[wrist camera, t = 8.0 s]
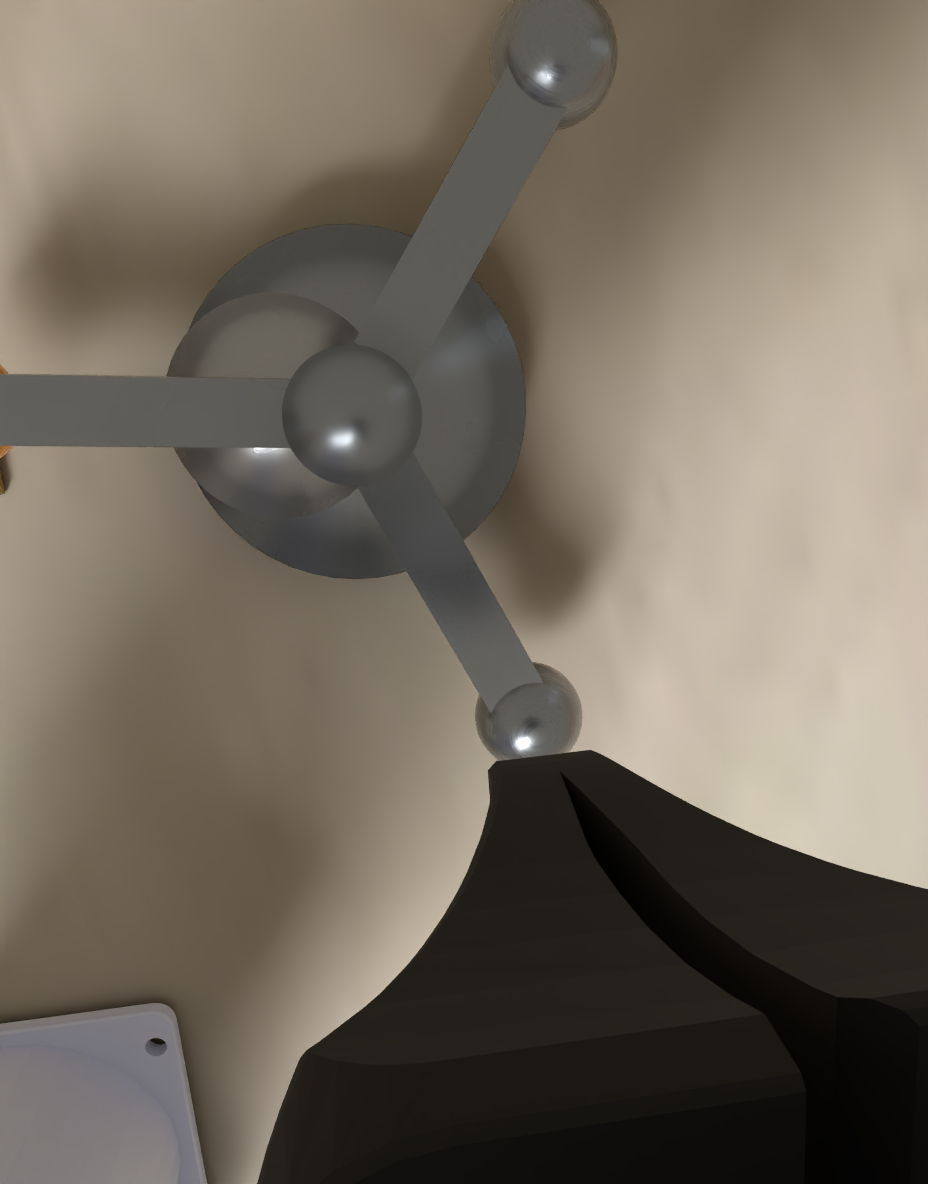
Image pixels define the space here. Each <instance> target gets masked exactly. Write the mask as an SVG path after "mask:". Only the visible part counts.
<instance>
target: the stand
mask: <svg viewBox="0 0 928 1184" xmlns="http://www.w3.org/2000/svg"><path fill="white" fill-rule="evenodd" d="M4 493H5V490H4V485H3V480H2V475H1V470H0V495H1V494H4Z"/></svg>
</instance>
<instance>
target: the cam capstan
mask: <svg viewBox="0 0 928 1184" xmlns="http://www.w3.org/2000/svg"><path fill="white" fill-rule="evenodd" d="M489 62H490V73H491V78H492V82H493V86H494V91H493V93H492V95H491V96H490V98H489V100H488V102H487V104H486V105H485V107H484V109H483V111H482V113H481V114H480V116H479V118H478V120H477V122H476V123H475V125H474V127H473V129H472V131H471V132H470V134H469V136H468V138H467V140H466V141H465V143H464V145H463V147H462V149H461V150H460V152H459V154H458V156H457V158H456V159H455V161H454V163H453V165H452V167H451V168H450V170H449V172H448V174H447V176H446V177H445V179H444V181H443V183H442V185H441V186H440V188H439V190H438V192H437V194H436V195H435V197H434V199H433V201H432V203H431V204H430V206H429V208H428V210H427V212H426V213H425V215H424V217H423V219H422V221H421V222H420V224H419V226H418V228H417V230H416V231H415V233H414V235H413V237H411V236H408V235H406V234H403V233H400V232H397V231H393V230H389V229H385V228H381V227H377V226H368V225H358V224H333V225H324V226H318V227H312V228H306V229H303V230H299V231H296V232H293V233H290V234H287V235H284V236H281V237H279V238H277V239H275V240H273V241H271V242H269V243H267V244H265V245H263V246H261V247H259V248H258V249H256V250H255V251H253V252H252V253H251V254H249V255H248V256H246V257H245V258H243V259H242V260H240V261H239V262H238V263H237V264H236V265H235V266H234V267H233V268H232V269H230V270H229V271H228V272H227V273H226V274H225V275H224V276H223V277H222V278H221V279H220V281H219V282H218V283H217V284H216V285H215V287H214V288H213V289H212V290H211V291H210V293H209V294H208V295H207V297H206V298H205V300H204V302H203V303H202V305H201V307H200V308H199V310H198V311H197V313H196V315H195V317H194V319H193V321H192V324H191V326H190V328H189V331H188V333H187V334H186V335H185V336H184V338H183V339H182V341H181V343H180V344H179V346H178V347H177V349H176V351H175V353H174V356H173V358H172V360H171V363H170V366H169V369H168V373H167V376H110V375H51V374H9V373H8V372H7V371H6V370H5V369H4V368H3V367H2V366H1V365H0V458H1V457H3V456H4V455H5V454H6V453H7V452H8V451H9V450H10V449H11V448H12V446H95V447H174V448H175V451H176V453H177V454H178V456H179V458H180V460H181V462H182V463H183V465H184V466H185V468H186V469H187V470H188V472H189V473H190V474H191V476H192V477H193V478H194V479H195V480H196V481H197V483H198V485H199V487H200V488H201V490H202V492H203V494H204V496H205V497H206V498H207V500H208V501H209V502H210V504H211V505H212V506H213V508H214V509H215V511H216V512H217V513H218V515H219V516H220V517H221V518H222V519H223V520H224V521H225V522H226V523H227V524H228V525H229V526H230V527H231V528H232V529H233V530H234V531H235V532H236V533H237V534H238V535H240V536H241V537H242V538H243V539H245V540H246V541H247V542H248V543H249V544H251V545H252V546H253V547H255V548H257V549H258V550H260V551H261V552H263V553H265V554H266V555H268V556H269V557H271V558H273V559H275V560H278V561H280V562H282V563H284V564H286V565H288V566H290V567H293V568H296V569H299V570H303V571H306V572H309V573H312V574H317V575H322V576H328V577H333V578H347V579H364V578H378V577H383V576H388V575H393V574H398V573H402V572H405V571H407V572H408V574H409V576H410V577H411V579H412V581H413V582H414V584H415V586H416V588H417V589H418V591H419V593H420V594H421V596H422V598H423V599H424V601H425V603H426V604H427V606H428V608H429V609H430V611H431V613H432V615H433V616H434V618H435V620H436V621H437V623H438V625H439V626H440V628H441V630H442V631H443V633H444V635H445V636H446V638H447V640H448V642H449V643H450V645H451V647H452V648H453V650H454V652H455V653H456V655H457V657H458V658H459V660H460V662H461V663H462V665H463V667H464V669H465V670H466V672H467V674H468V675H469V677H470V679H471V680H472V682H473V684H474V685H475V687H476V689H477V691H478V692H479V697H478V700H477V704H476V709H475V721H476V727H477V731H478V734H479V737H480V739H481V741H482V743H483V745H484V746H485V747H486V749H487V750H488V751H489V752H490V753H491V754H492V755H493V756H494V757H495V758H496V759H497V760H499V761H501V760H510V759H518V758H527V757H535V756H544V755H552V754H561V753H568V752H569V751H570V750H571V749H572V747H573V746H574V745H575V743H576V741H577V739H578V736H579V734H580V730H581V726H582V707H581V702H580V699H579V696H578V694H577V692H576V690H575V688H574V687H573V685H572V684H571V683H570V681H569V680H568V679H567V678H566V677H565V676H564V675H563V674H561V673H560V672H559V671H557V670H556V669H554V668H552V667H550V666H547V665H544V664H541V663H536V662H532V661H531V660H530V658H529V656H528V654H527V653H526V651H525V649H524V647H523V646H522V644H521V642H520V640H519V638H518V637H517V635H516V633H515V631H514V630H513V628H512V626H511V624H510V623H509V621H508V619H507V617H506V616H505V614H504V612H503V610H502V608H501V607H500V605H499V603H498V601H497V600H496V598H495V596H494V594H493V593H492V591H491V589H490V587H489V586H488V584H487V582H486V580H485V578H484V577H483V575H482V573H481V571H480V570H479V568H478V566H477V564H476V563H475V561H474V559H473V557H472V555H471V554H470V552H469V550H468V548H467V547H466V545H465V543H464V541H463V540H464V539H465V538H466V537H467V536H469V535H470V534H471V533H472V532H473V531H474V530H475V529H476V528H477V527H478V526H479V525H480V524H481V523H482V521H483V520H484V519H485V518H486V517H487V516H488V515H489V513H490V512H491V510H492V509H493V508H494V506H495V505H496V503H497V502H498V500H499V499H500V497H501V496H502V494H503V492H504V490H505V488H506V486H507V484H508V482H509V480H510V478H511V476H512V473H513V471H514V468H515V465H516V462H517V460H518V457H519V453H520V449H521V444H522V440H523V435H524V426H525V416H526V399H525V385H524V378H523V372H522V366H521V363H520V359H519V356H518V352H517V349H516V345H515V343H514V340H513V338H512V336H511V334H510V331H509V329H508V327H507V324H506V322H505V321H504V319H503V317H502V316H501V314H500V312H499V311H498V309H497V307H496V305H495V304H494V302H493V301H492V300H491V298H490V297H489V296H488V295H487V293H486V292H485V291H484V289H483V288H482V287H481V286H480V284H479V283H478V282H477V281H476V280H475V279H474V278H473V277H472V274H473V273H474V271H475V269H476V267H477V266H478V264H479V262H480V260H481V259H482V257H483V255H484V253H485V252H486V250H487V248H488V246H489V245H490V243H491V241H492V239H493V238H494V236H495V234H496V232H497V231H498V229H499V227H500V225H501V224H502V222H503V220H504V218H505V217H506V215H507V213H508V211H509V210H510V208H511V206H512V204H513V203H514V201H515V199H516V197H517V196H518V194H519V192H520V190H521V189H522V187H523V185H524V183H525V182H526V180H527V178H528V176H529V175H530V173H531V171H532V169H533V168H534V166H535V164H536V162H537V161H538V159H539V157H540V155H541V154H542V152H543V150H544V148H545V147H546V145H547V143H548V141H549V140H550V138H551V136H552V134H553V133H554V131H555V130H560V129H565V128H568V127H571V126H574V125H576V124H578V123H580V122H581V121H582V120H584V119H585V118H587V117H588V116H589V115H590V114H591V113H593V112H594V111H595V110H596V108H597V107H598V106H599V105H600V104H601V102H602V101H603V99H604V98H605V96H606V94H607V93H608V91H609V89H610V87H611V84H612V81H613V78H614V74H615V70H616V65H617V41H616V35H615V31H614V27H613V25H612V22H611V19H610V17H609V15H608V13H607V12H606V10H605V9H604V7H603V6H602V5H601V3H600V2H599V1H598V0H514V1H513V2H512V3H511V4H510V5H509V6H508V7H507V9H506V10H505V12H504V13H503V15H502V16H501V18H500V20H499V22H498V24H497V26H496V28H495V31H494V34H493V37H492V42H491V47H490V57H489Z"/></svg>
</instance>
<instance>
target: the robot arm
mask: <svg viewBox="0 0 928 1184" xmlns="http://www.w3.org/2000/svg"><path fill="white" fill-rule="evenodd" d="M488 778H489V792H490V805H489V809H488V813H487V817H486V821H485V824H484V828H483V832H482V835H481V838H480V841H479V844H478V846H477V849H476V851H475V854H474V856H473V859H472V861H471V864H470V866H469V869H468V871H467V874H466V876H465V878H464V880H463V882H462V884H461V886H460V888H459V890H458V892H457V894H456V895H455V897H454V899H453V901H452V902H451V904H450V906H449V908H448V909H447V911H446V913H445V914H444V916H443V918H442V919H441V920H440V922H439V923H438V925H437V926H436V928H435V929H434V931H433V932H432V933H431V935H430V936H429V938H428V939H427V941H426V942H425V943H424V945H423V946H422V948H421V949H420V950H419V951H418V953H417V954H416V955H415V956H414V958H413V959H412V960H411V961H410V963H409V964H408V965H407V966H406V967H405V968H404V969H403V970H402V971H401V972H400V973H399V974H398V976H397V977H396V978H395V979H394V980H393V981H392V982H391V983H390V984H389V985H388V986H387V987H386V988H385V989H384V990H383V991H382V992H381V993H380V994H379V995H378V996H377V997H376V998H375V999H373V1000H372V1001H371V1002H370V1003H369V1004H368V1005H367V1006H365V1007H364V1008H363V1009H362V1010H360V1011H359V1012H358V1013H356V1014H355V1015H354V1016H352V1017H351V1018H350V1019H348V1020H347V1021H346V1022H345V1023H343V1024H342V1025H341V1026H339V1027H338V1028H337V1029H335V1030H334V1031H333V1032H331V1033H330V1034H329V1035H327V1036H326V1037H325V1038H324V1039H322V1040H321V1041H319V1042H318V1043H317V1044H315V1045H314V1046H312V1047H311V1048H309V1049H308V1050H306V1052H305V1053H304V1054H303V1055H302V1056H301V1058H300V1060H299V1062H298V1064H297V1067H296V1069H295V1072H294V1074H293V1077H292V1079H291V1082H290V1085H289V1087H288V1090H287V1092H286V1095H285V1098H284V1100H283V1103H282V1106H281V1108H280V1111H279V1114H278V1117H277V1120H276V1123H275V1126H274V1129H273V1132H272V1135H271V1138H270V1141H269V1144H268V1147H267V1150H266V1153H265V1157H264V1161H263V1164H262V1168H261V1172H260V1176H259V1179H258V1183H257V1184H928V889H924V888H920V887H915V886H912V885H908V884H904V883H900V882H897V881H893V880H889V879H885V878H881V877H878V876H874V875H870V874H866V873H862V872H859V871H855V870H852V869H849V868H846V867H842V866H839V865H836V864H833V863H829V862H826V861H824V860H821V859H818V858H815V857H812V856H810V855H807V854H804V853H801V852H799V851H796V850H793V849H790V848H787V847H785V846H782V845H779V844H776V843H774V842H771V841H769V840H767V839H764V838H762V837H759V836H757V835H754V834H752V833H750V832H748V831H746V830H743V829H741V828H739V827H737V826H735V825H733V824H730V823H728V822H726V821H724V820H722V819H720V818H717V817H715V816H713V815H711V814H709V813H707V812H705V811H703V810H701V809H699V808H697V807H695V806H693V805H691V804H689V803H687V802H686V801H684V800H682V799H680V798H678V797H676V796H674V795H673V794H671V793H669V792H667V791H665V790H663V789H662V788H660V787H658V786H656V785H654V784H653V783H651V782H649V781H647V780H646V779H644V778H642V777H640V776H639V775H637V774H635V773H633V772H632V771H630V770H628V769H626V768H625V767H623V766H621V765H619V764H618V763H616V762H614V761H612V760H611V759H609V758H607V757H605V756H603V755H601V754H599V753H597V752H594V751H592V750H586V751H578V752H569V753H561V754H552V755H544V756H535V757H527V758H518V759H510V760H501V761H496V762H495V763H494V764H493V765H492V767H491V768H490V769H489V770H488ZM153 1038H160V1039H162V1040H164V1041H165V1042H166V1043H164V1044H155V1043H153V1042H151V1040H150V1039H153ZM0 1184H207V1180H206V1174H205V1169H204V1164H203V1158H202V1153H201V1147H200V1142H199V1137H198V1131H197V1126H196V1120H195V1115H194V1110H193V1104H192V1099H191V1093H190V1088H189V1083H188V1077H187V1072H186V1066H185V1061H184V1056H183V1050H182V1045H181V1039H180V1034H179V1029H178V1023H177V1018H176V1015H175V1013H174V1011H173V1010H172V1009H171V1008H170V1007H169V1006H167V1005H164V1004H161V1003H149V1004H142V1005H135V1006H127V1007H120V1008H113V1009H105V1010H98V1011H91V1012H83V1013H76V1014H69V1015H61V1016H54V1017H47V1018H39V1019H32V1020H25V1021H17V1022H10V1023H3V1024H0Z"/></svg>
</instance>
